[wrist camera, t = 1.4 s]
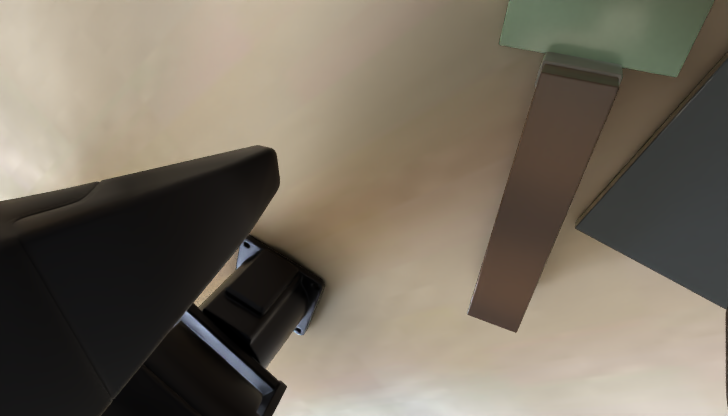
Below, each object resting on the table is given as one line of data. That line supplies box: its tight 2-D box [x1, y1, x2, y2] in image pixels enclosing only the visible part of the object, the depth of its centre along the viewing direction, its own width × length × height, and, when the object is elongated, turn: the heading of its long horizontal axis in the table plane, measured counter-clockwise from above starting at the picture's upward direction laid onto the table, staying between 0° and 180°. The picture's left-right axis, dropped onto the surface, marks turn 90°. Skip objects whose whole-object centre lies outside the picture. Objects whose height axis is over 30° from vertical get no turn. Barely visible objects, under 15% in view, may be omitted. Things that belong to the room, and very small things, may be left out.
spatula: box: [467, 0, 715, 333], centre depth 17 cm, size 19×6×3 cm, turn 176°
